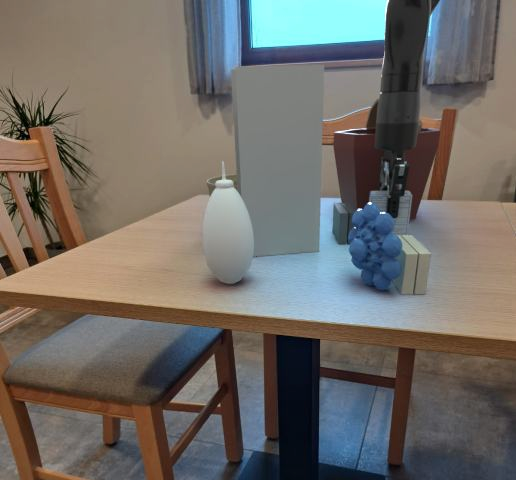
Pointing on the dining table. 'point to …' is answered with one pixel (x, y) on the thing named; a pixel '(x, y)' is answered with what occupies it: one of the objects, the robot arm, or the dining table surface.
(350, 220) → the grey booklets
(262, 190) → the tall grey box
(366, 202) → the bucket
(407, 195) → the medicine box
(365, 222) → the grapes
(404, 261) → the cream booklets
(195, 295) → the dining table surface
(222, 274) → the white air blower bulb
